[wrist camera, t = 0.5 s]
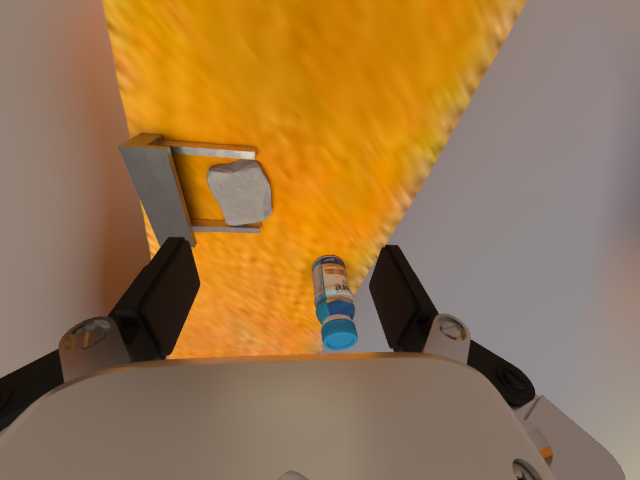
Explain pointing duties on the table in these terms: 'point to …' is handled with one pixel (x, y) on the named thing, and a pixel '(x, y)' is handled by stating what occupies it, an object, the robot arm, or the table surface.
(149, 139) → the steel lip bracket
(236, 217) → the stone block
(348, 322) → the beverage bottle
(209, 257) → the table surface
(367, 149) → the table surface
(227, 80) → the table surface
